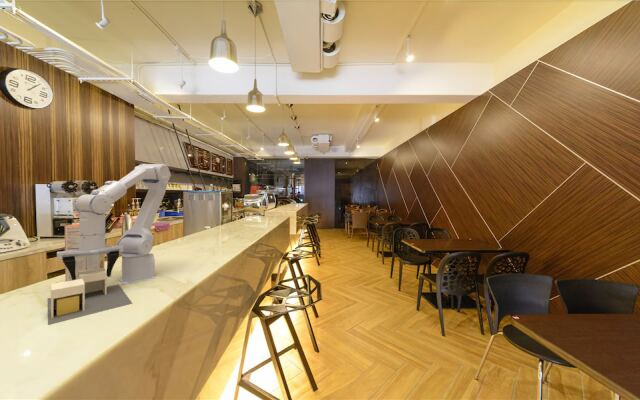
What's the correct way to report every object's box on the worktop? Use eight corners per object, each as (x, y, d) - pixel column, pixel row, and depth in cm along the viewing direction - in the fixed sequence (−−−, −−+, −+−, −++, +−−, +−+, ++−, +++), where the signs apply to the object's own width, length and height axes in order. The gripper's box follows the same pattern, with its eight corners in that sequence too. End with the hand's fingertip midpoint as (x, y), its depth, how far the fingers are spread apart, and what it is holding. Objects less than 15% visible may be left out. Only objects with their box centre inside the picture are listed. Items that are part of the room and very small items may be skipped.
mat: (118, 285, 82) (118, 284, 82) (132, 305, 69) (132, 303, 69) (47, 300, 70) (47, 298, 70) (47, 327, 57) (47, 325, 57)
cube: (77, 305, 67) (77, 291, 66) (79, 310, 64) (79, 295, 64) (56, 310, 64) (56, 295, 63) (56, 315, 61) (56, 300, 61)
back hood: (103, 289, 78) (103, 267, 78) (106, 294, 74) (106, 271, 74) (77, 294, 74) (77, 271, 73) (79, 300, 70) (79, 276, 70)
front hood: (82, 303, 68) (82, 278, 68) (84, 310, 64) (84, 284, 64) (50, 310, 63) (51, 284, 63) (51, 318, 60) (51, 290, 59)
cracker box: (84, 276, 90) (85, 220, 90) (105, 274, 93) (105, 220, 92) (63, 290, 77) (63, 225, 77) (87, 288, 80) (87, 224, 79)
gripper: (57, 238, 65) (57, 288, 66) (125, 233, 76) (124, 276, 76) (56, 235, 70) (56, 282, 70) (121, 230, 81) (120, 271, 81)
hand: (91, 278), depth 74 cm, fingers open, 7 cm apart
